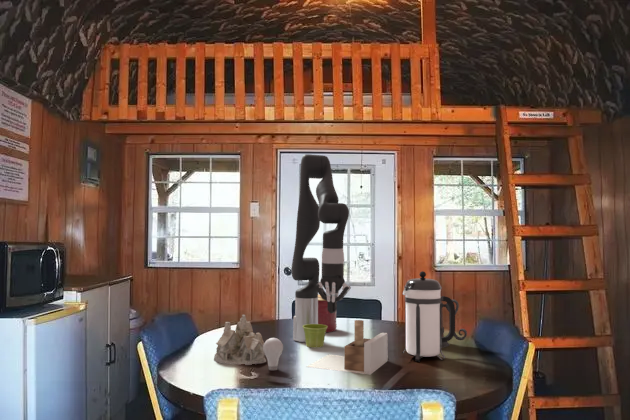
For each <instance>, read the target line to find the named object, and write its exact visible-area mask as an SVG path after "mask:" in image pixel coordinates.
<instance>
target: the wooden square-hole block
mask: <svg viewBox="0 0 630 420" xmlns="http://www.w3.org/2000/svg"><path fill="white" fill-rule="evenodd" d="M370 339H371V338H366V337H365V338H364V341H363V347H357V346H354V340H353V341H352V342H349V343H348V344H347V345H344V355H343V356H344V369H346V370H354V371H362V372H364V343H365V342H367V341H368V340H370Z"/></svg>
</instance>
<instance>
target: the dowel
mask: <svg viewBox="0 0 630 420" xmlns="http://www.w3.org/2000/svg"><path fill="white" fill-rule="evenodd" d="M364 325H365V324H364V320H362V319H355V320H354V339H353V341H354V346H357V347H363V341H364V336H365V335H364V331H365V330H364Z"/></svg>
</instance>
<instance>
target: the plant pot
mask: <svg viewBox="0 0 630 420" xmlns="http://www.w3.org/2000/svg"><path fill="white" fill-rule="evenodd" d="M327 327H328V326H326V325H322V324H307V325H303V328H304V332H305V340H306V342H305V346H306V347H308V348H312V349H313V348H322V347H324V344H325V337H326V333H327V332H326V329H327Z"/></svg>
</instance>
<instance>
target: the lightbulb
mask: <svg viewBox="0 0 630 420" xmlns="http://www.w3.org/2000/svg"><path fill="white" fill-rule="evenodd" d="M283 350H284V344H283V343H282V341H281V340H280V339H278V338H276V337H270V338H268V339H266V340H265V342H264V345H263V351H264V353H265V355H264V356H265V357H266V362H267V365H268V370H269V371H278V366H279V360H280V357H281V356H282V353H283Z"/></svg>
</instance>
